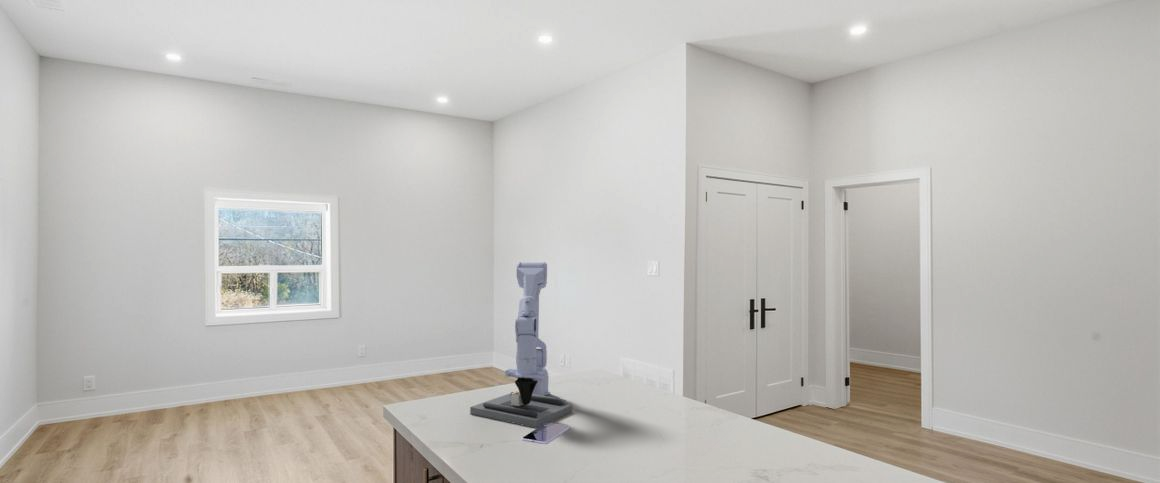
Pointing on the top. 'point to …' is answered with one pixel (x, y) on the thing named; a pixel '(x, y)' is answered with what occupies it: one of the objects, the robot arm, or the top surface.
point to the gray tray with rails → (525, 412)
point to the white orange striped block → (516, 399)
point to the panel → (543, 409)
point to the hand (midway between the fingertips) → (526, 403)
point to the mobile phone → (546, 433)
